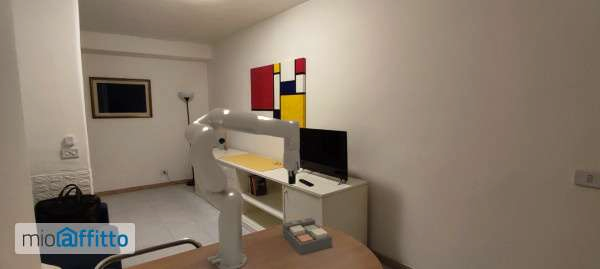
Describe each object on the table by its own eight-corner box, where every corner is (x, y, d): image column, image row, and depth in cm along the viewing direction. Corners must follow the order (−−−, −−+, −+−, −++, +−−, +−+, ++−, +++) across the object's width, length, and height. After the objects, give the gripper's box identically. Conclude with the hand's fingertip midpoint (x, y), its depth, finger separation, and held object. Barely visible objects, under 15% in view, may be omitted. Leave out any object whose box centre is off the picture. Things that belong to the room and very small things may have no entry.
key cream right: (316, 239, 129) (316, 235, 129) (310, 234, 134) (310, 230, 134) (327, 236, 131) (327, 232, 131) (321, 231, 136) (321, 227, 136)
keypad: (300, 255, 124) (300, 239, 123) (283, 237, 141) (283, 223, 140) (331, 247, 131) (331, 231, 130) (311, 230, 148) (311, 217, 147)
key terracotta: (302, 246, 126) (302, 241, 125) (296, 240, 131) (296, 236, 130) (313, 243, 128) (313, 238, 128) (307, 237, 133) (307, 233, 133)
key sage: (308, 235, 136) (308, 231, 135) (303, 230, 141) (303, 226, 140) (319, 232, 138) (319, 228, 138) (313, 228, 143) (313, 224, 143)
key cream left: (294, 236, 132) (294, 232, 132) (289, 231, 137) (289, 227, 137) (305, 233, 135) (305, 229, 134) (300, 228, 140) (300, 225, 139)
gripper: (278, 144, 141) (278, 181, 143) (291, 149, 128) (291, 189, 130) (292, 143, 144) (292, 179, 146) (306, 147, 131) (306, 186, 133)
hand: (292, 183), depth 138 cm, fingers closed
